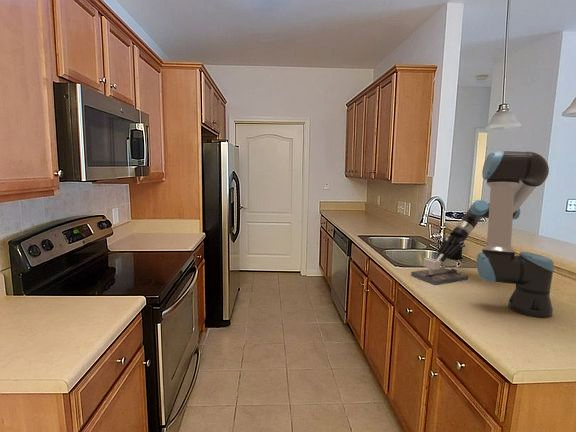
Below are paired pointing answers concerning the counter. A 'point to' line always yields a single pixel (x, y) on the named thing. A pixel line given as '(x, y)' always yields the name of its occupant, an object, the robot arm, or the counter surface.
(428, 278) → the fader console
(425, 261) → the fader knob
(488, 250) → the robot arm
